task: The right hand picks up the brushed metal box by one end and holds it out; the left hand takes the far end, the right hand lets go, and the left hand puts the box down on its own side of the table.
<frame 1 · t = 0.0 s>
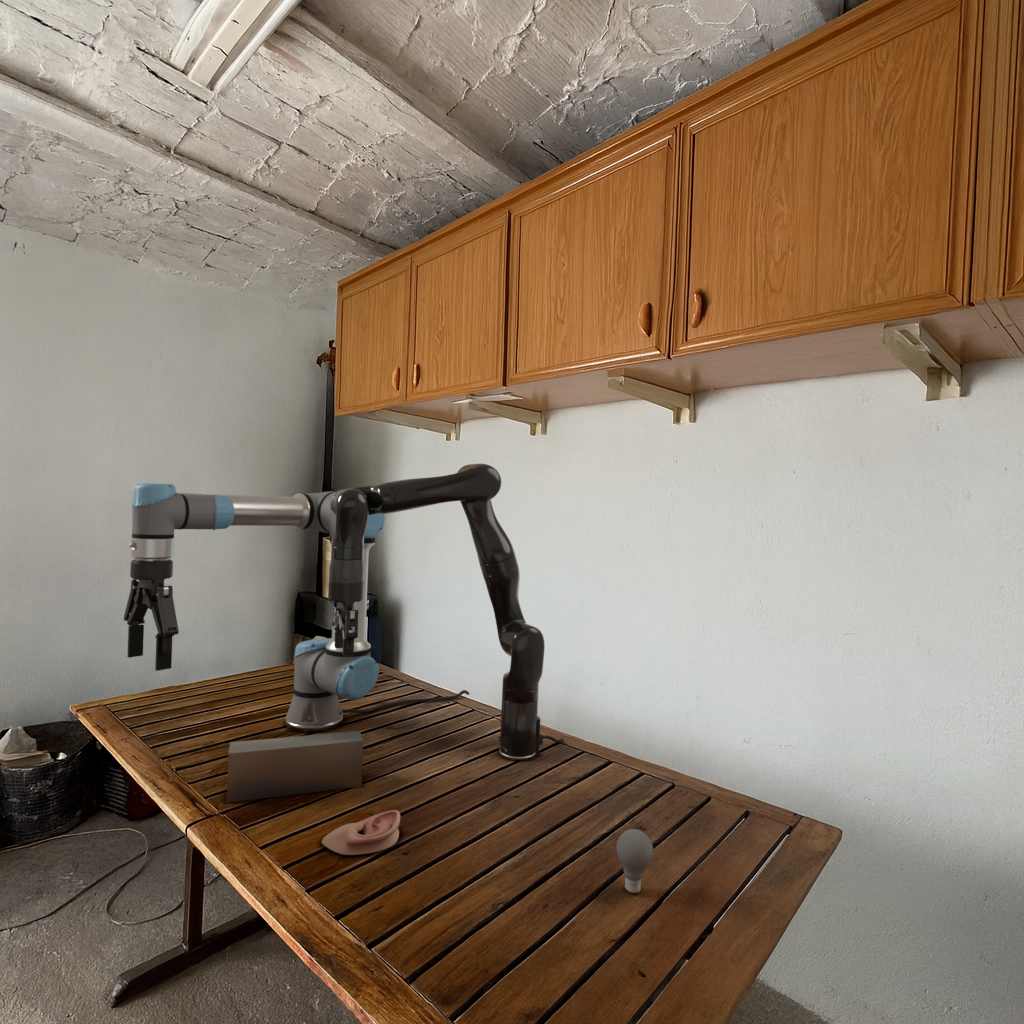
left hand: (148, 662, 129), 28 cm above the table, tool pointing down, fingers open, 13 cm apart
right hand: (343, 652, 140), 29 cm above the table, tool pointing down, fingers open, 8 cm apart
box: (295, 788, 137), on the table
anatomical model: (361, 840, 118), on the table
fossil: (329, 680, 217), on the table
light bulb: (632, 891, 106), on the table
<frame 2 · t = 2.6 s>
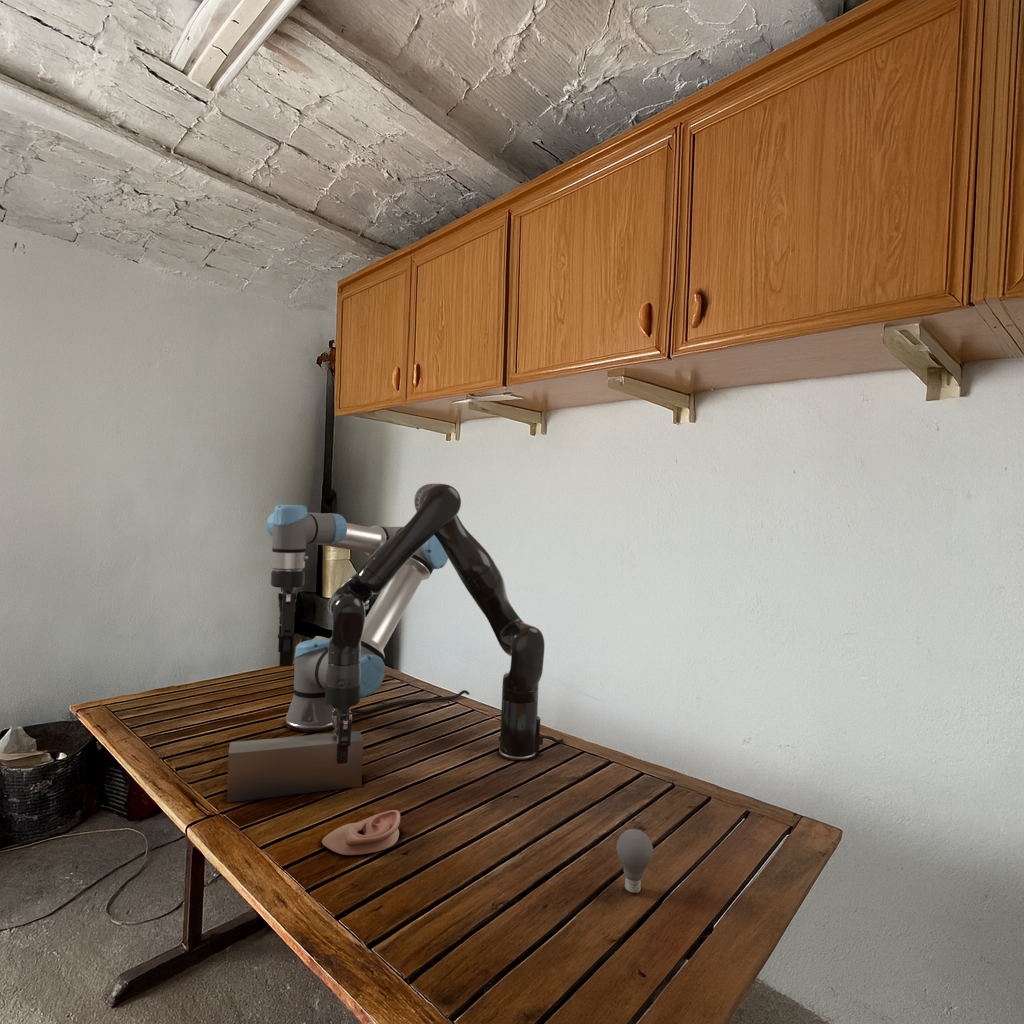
left hand: (284, 658, 151), 24 cm above the table, tool pointing down, fingers open, 13 cm apart
right hand: (340, 756, 140), 6 cm above the table, tool pointing down, fingers closed on box, 6 cm apart
box: (296, 788, 137), on the table, touching right hand
everything else where it was.
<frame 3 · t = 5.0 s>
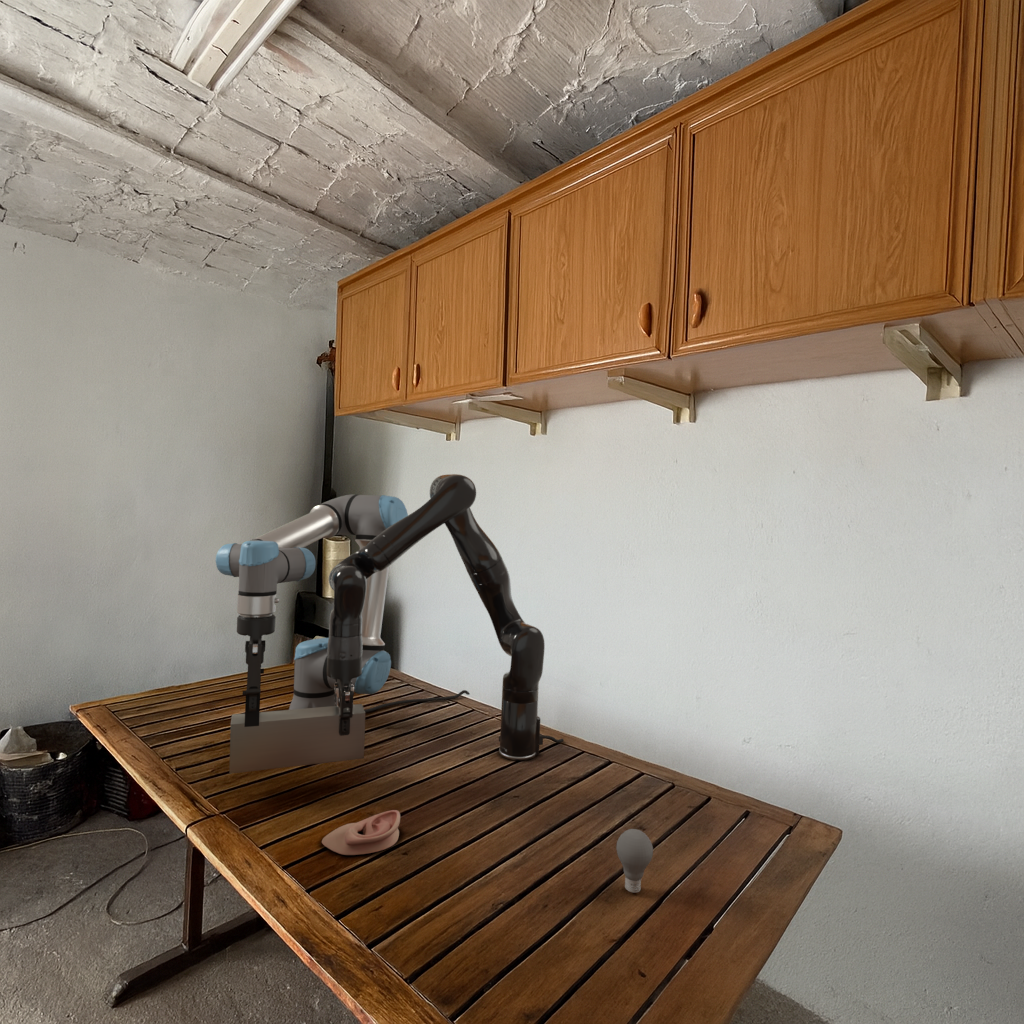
left hand: (252, 715, 133), 17 cm above the table, tool pointing down, fingers open, 13 cm apart
right hand: (342, 729, 140), 12 cm above the table, tool pointing down, fingers closed on box, 6 cm apart
box: (298, 760, 137), point 6 cm above the table, touching right hand
everything else where it was.
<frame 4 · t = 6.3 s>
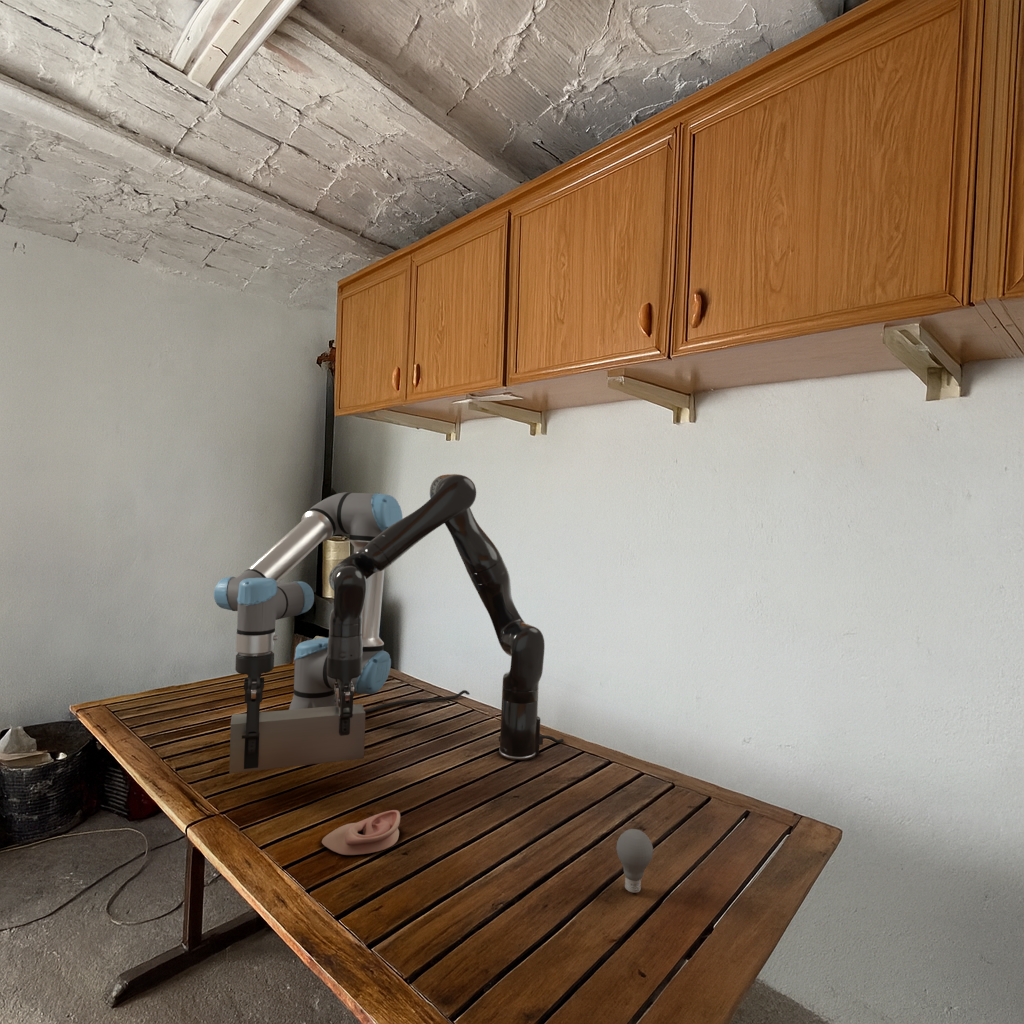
left hand: (251, 760, 134), 7 cm above the table, tool pointing down, fingers closed on box, 6 cm apart
right hand: (342, 729, 140), 12 cm above the table, tool pointing down, fingers closed on box, 6 cm apart
box: (298, 760, 137), point 6 cm above the table, touching left hand, right hand
everything else where it was.
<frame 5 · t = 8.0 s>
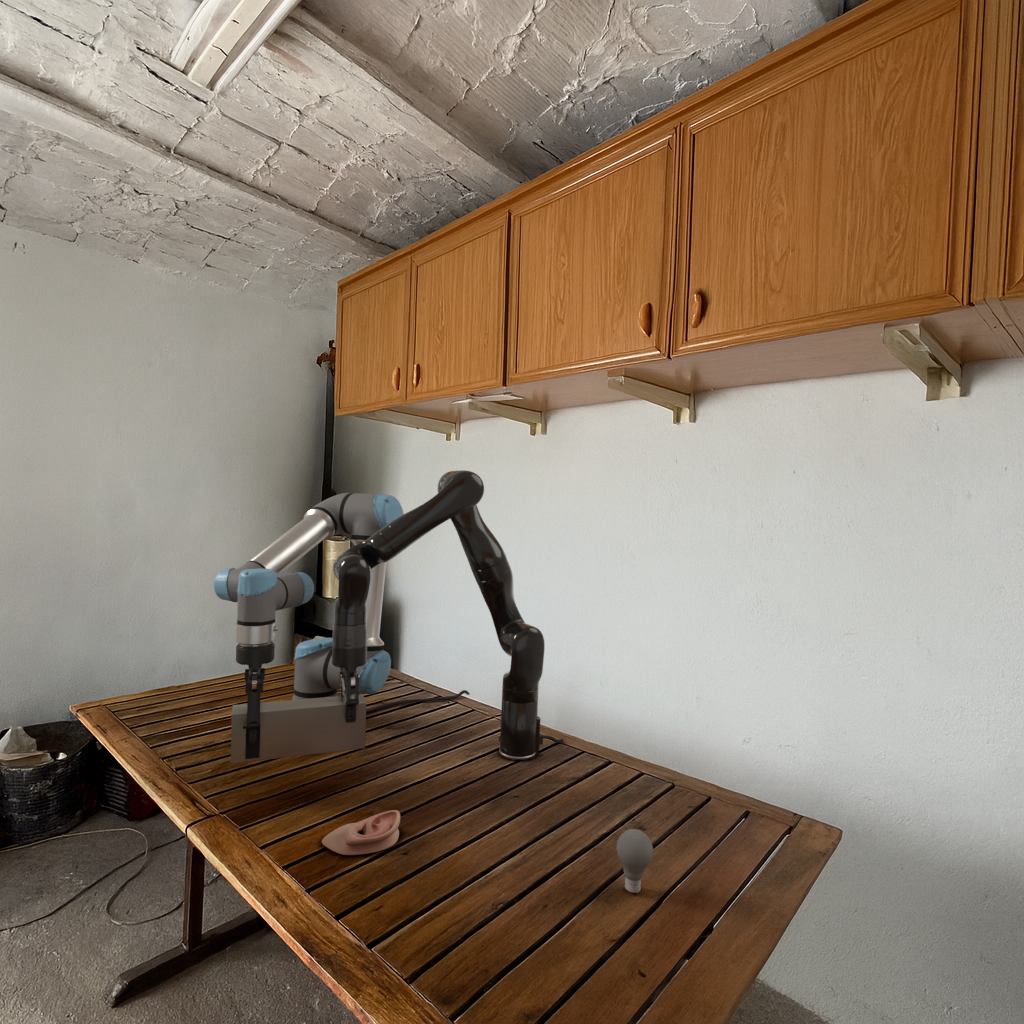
left hand: (252, 751, 134), 9 cm above the table, tool pointing down, fingers closed on box, 6 cm apart
right hand: (348, 715, 141), 15 cm above the table, tool pointing down, fingers open, 8 cm apart
box: (299, 750, 137), point 8 cm above the table, touching left hand
everything else where it was.
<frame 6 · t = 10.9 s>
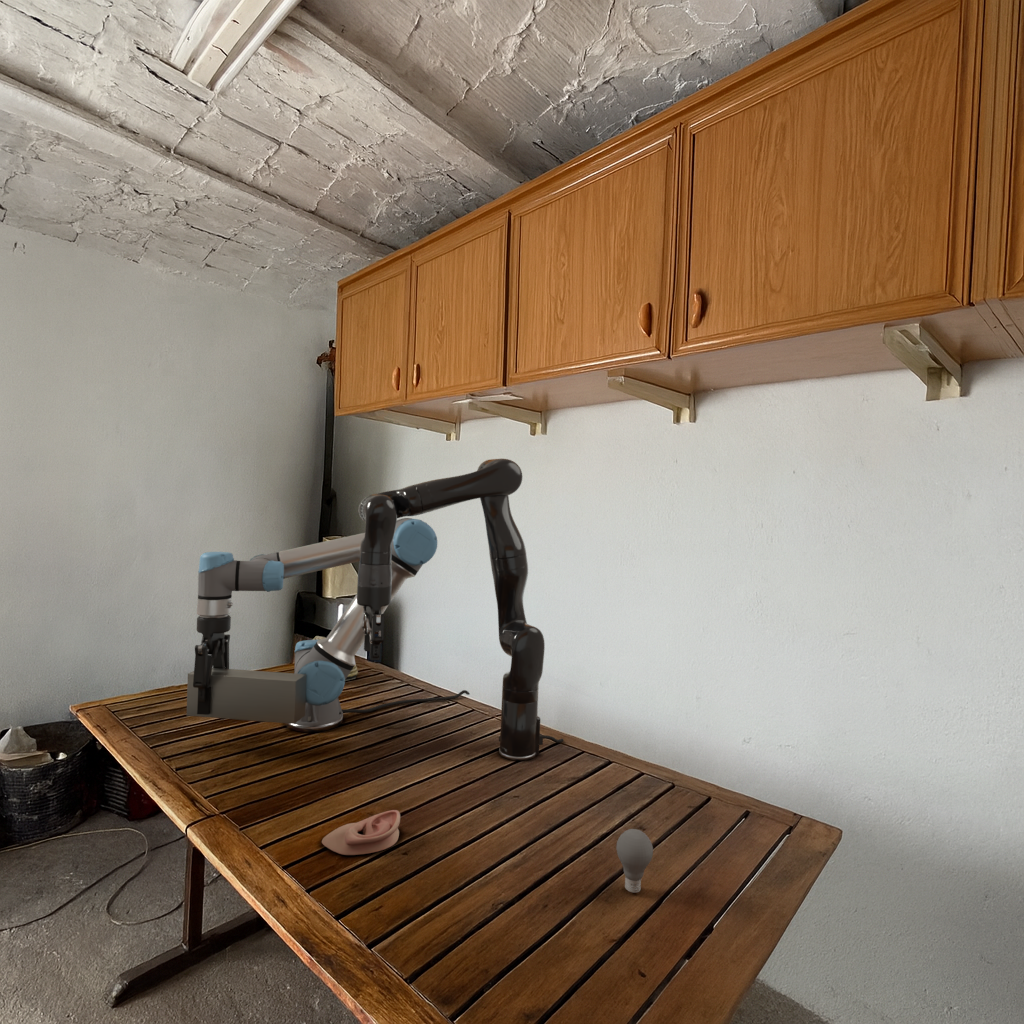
left hand: (210, 708, 155), 10 cm above the table, tool pointing down, fingers closed on box, 6 cm apart
right hand: (371, 655, 142), 28 cm above the table, tool pointing down, fingers open, 8 cm apart
box: (246, 715, 154), point 9 cm above the table, touching left arm, left hand
everything else where it was.
when the left hand's fingers open (2 cm above the table, at t = 15.7 s): box moves 1 cm, on the table.
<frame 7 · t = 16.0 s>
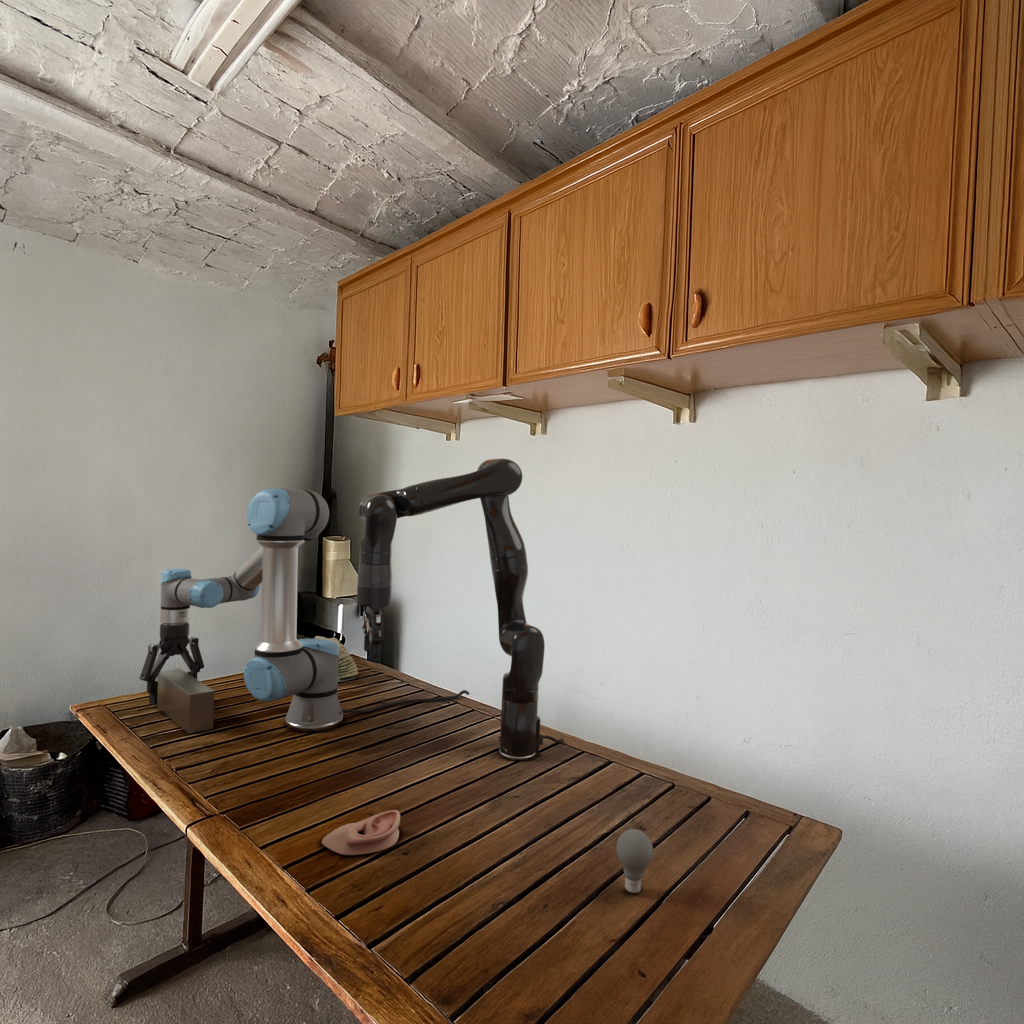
left hand: (172, 698, 183), 3 cm above the table, tool pointing down, fingers open, 10 cm apart
right hand: (371, 655, 142), 28 cm above the table, tool pointing down, fingers open, 8 cm apart
box: (183, 717, 176), on the table
everything else where it was.
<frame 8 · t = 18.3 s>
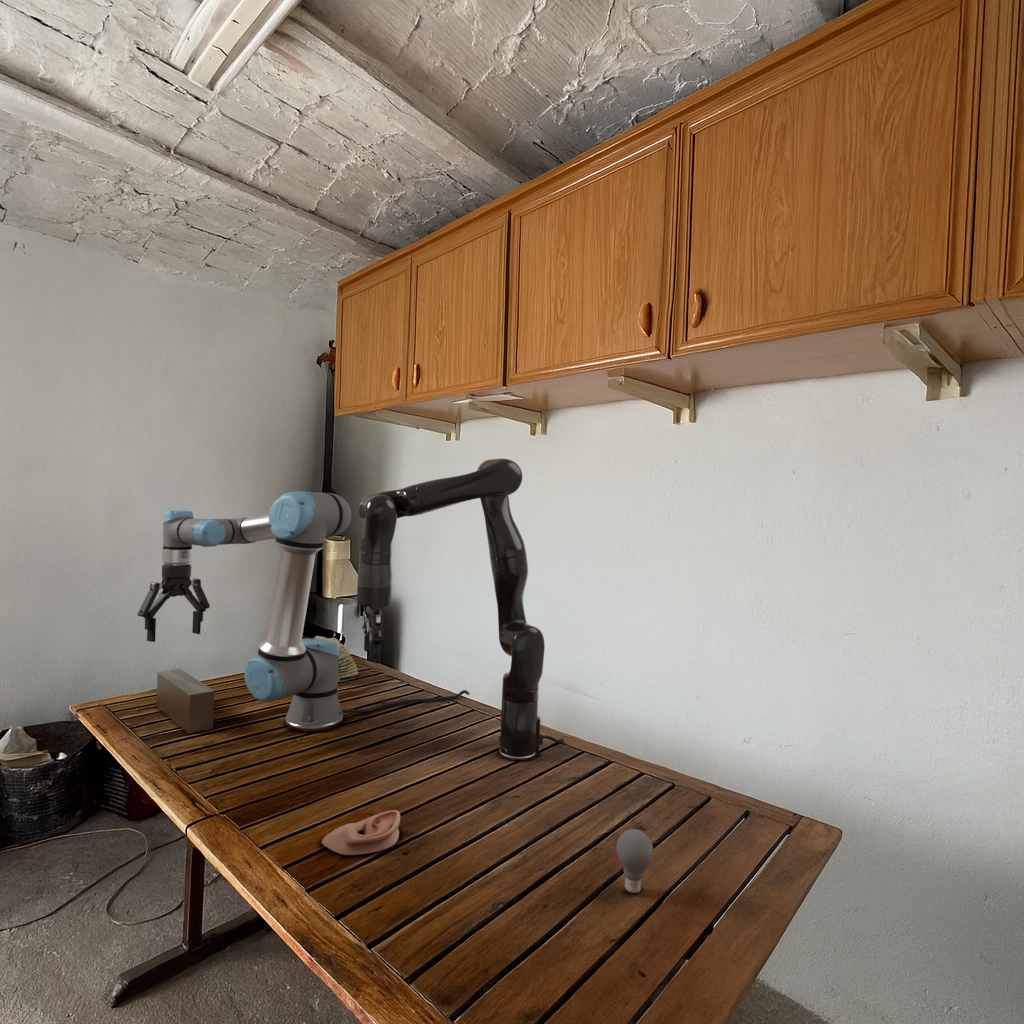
left hand: (174, 637, 183), 21 cm above the table, tool pointing down, fingers open, 13 cm apart
right hand: (371, 655, 142), 28 cm above the table, tool pointing down, fingers open, 8 cm apart
nothing on the table moved.
at the end: box inside the target area (9.7 cm from its centre), on the table; the left hand is holding nothing; the right hand is holding nothing; box at rest at the end (0.0 cm/s) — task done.
